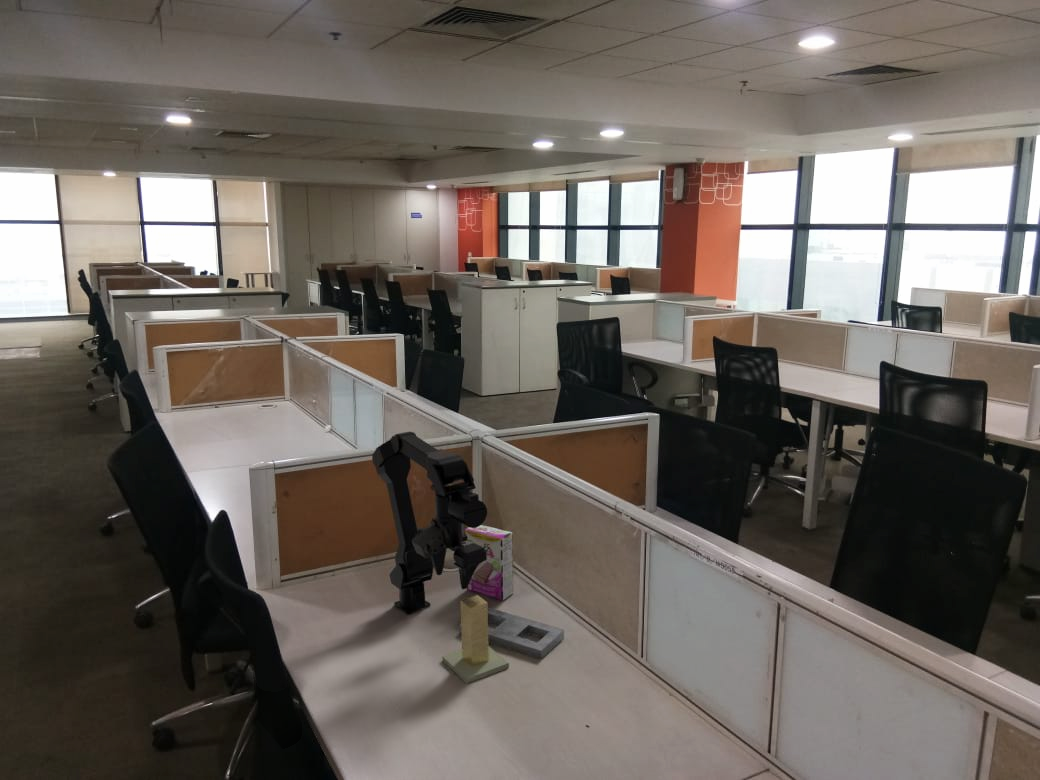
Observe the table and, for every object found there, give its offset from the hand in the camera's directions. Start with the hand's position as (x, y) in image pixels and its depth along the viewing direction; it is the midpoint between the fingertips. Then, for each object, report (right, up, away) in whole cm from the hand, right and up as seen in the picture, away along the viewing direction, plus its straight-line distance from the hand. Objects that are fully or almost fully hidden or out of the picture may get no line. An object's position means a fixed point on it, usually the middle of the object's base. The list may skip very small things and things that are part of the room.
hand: (451, 581), depth 167 cm
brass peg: (+6, -14, -8) cm, 17 cm away
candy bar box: (+7, -9, +23) cm, 26 cm away
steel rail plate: (+13, -13, +3) cm, 18 cm away
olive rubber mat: (+6, -15, -8) cm, 18 cm away
